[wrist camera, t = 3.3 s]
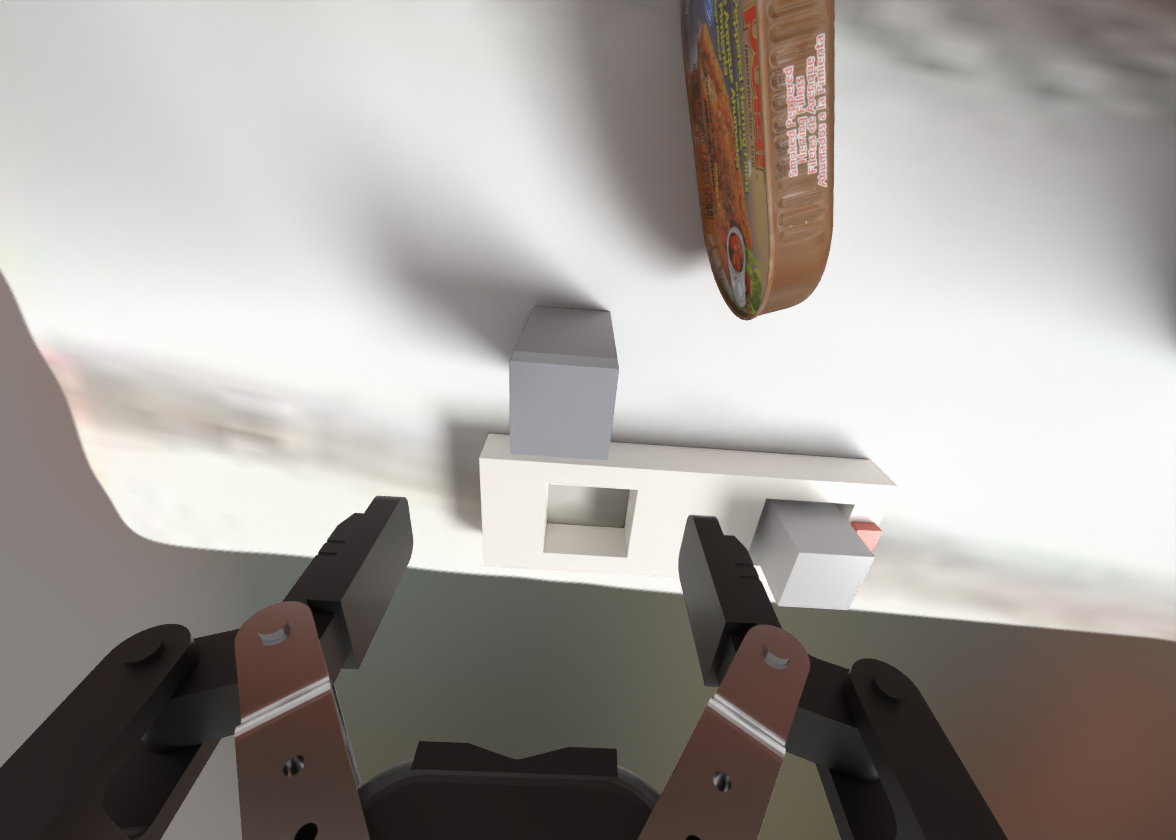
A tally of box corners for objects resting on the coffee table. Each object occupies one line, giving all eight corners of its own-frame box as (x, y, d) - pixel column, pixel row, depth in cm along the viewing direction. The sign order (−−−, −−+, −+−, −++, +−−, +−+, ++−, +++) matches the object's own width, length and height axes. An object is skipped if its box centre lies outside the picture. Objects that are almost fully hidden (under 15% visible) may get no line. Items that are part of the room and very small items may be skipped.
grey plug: (758, 479, 32) (799, 552, 25) (819, 484, 32) (875, 557, 26) (743, 527, 34) (777, 605, 27) (800, 531, 34) (848, 609, 28)
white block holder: (488, 433, 30) (476, 465, 26) (870, 459, 31) (905, 494, 27) (492, 536, 34) (481, 574, 31) (827, 556, 35) (852, 596, 32)
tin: (670, -53, 19) (722, -205, 11) (746, -78, 18) (851, -252, 11) (709, 299, 26) (758, 347, 18) (765, 286, 25) (838, 329, 18)
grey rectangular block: (534, 305, 26) (509, 360, 18) (610, 311, 26) (619, 369, 18) (532, 376, 28) (509, 453, 20) (603, 381, 28) (608, 460, 20)
